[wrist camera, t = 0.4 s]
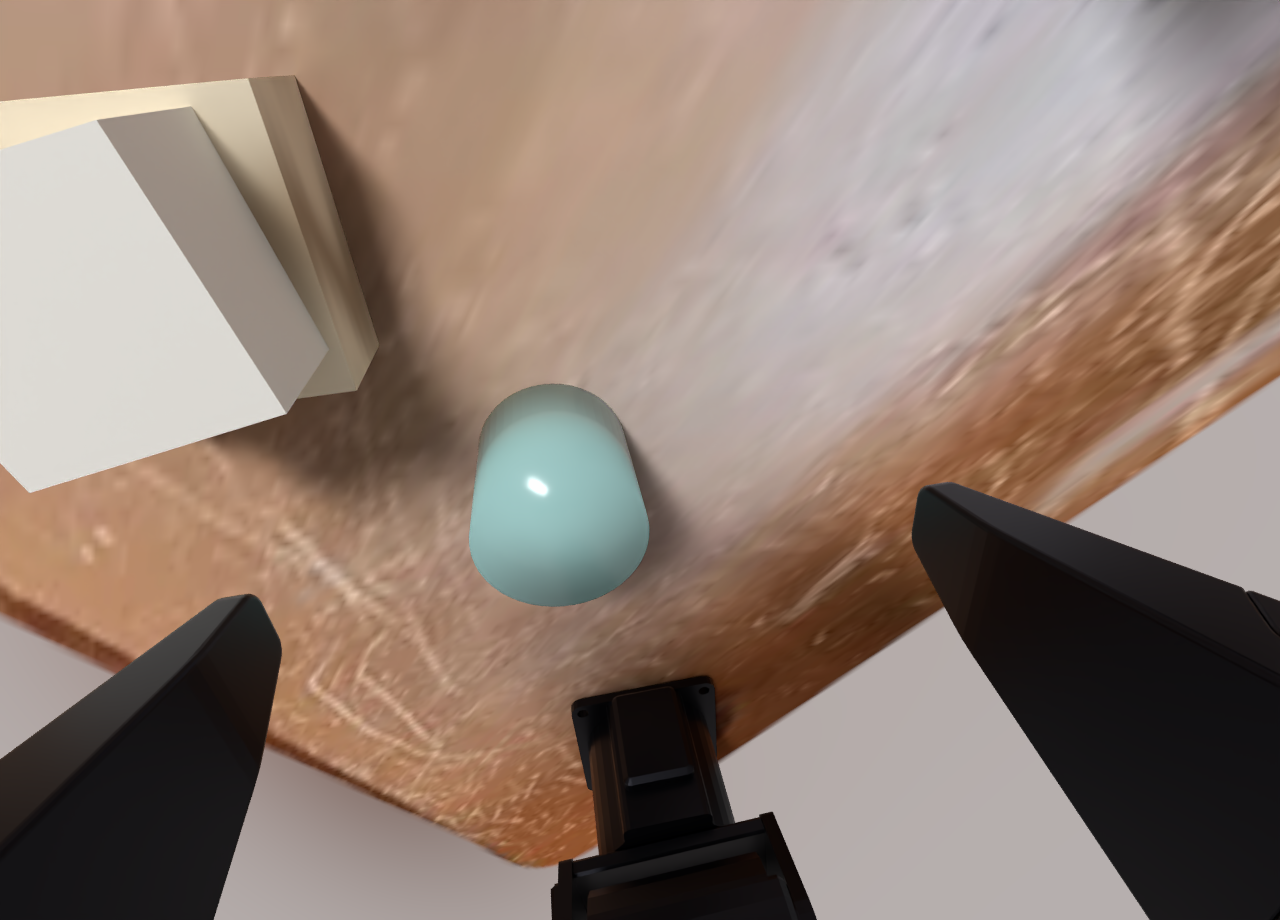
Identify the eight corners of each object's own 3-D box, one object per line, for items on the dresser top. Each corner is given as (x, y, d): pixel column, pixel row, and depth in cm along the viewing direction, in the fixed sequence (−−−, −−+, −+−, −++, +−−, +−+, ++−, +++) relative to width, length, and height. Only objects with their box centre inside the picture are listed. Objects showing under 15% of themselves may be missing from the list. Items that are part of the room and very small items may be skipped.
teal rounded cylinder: (631, 497, 24) (655, 590, 20) (494, 519, 23) (490, 619, 19) (617, 373, 21) (642, 450, 17) (463, 395, 21) (449, 480, 17)
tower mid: (329, 349, 16) (286, 413, 13) (118, 414, 16) (29, 492, 13) (191, 105, 13) (96, 120, 10) (-67, 186, 13) (-236, 222, 10)
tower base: (381, 341, 20) (356, 390, 17) (139, 373, 19) (69, 430, 16) (298, 75, 16) (248, 78, 13) (-7, 103, 15) (-131, 113, 12)
